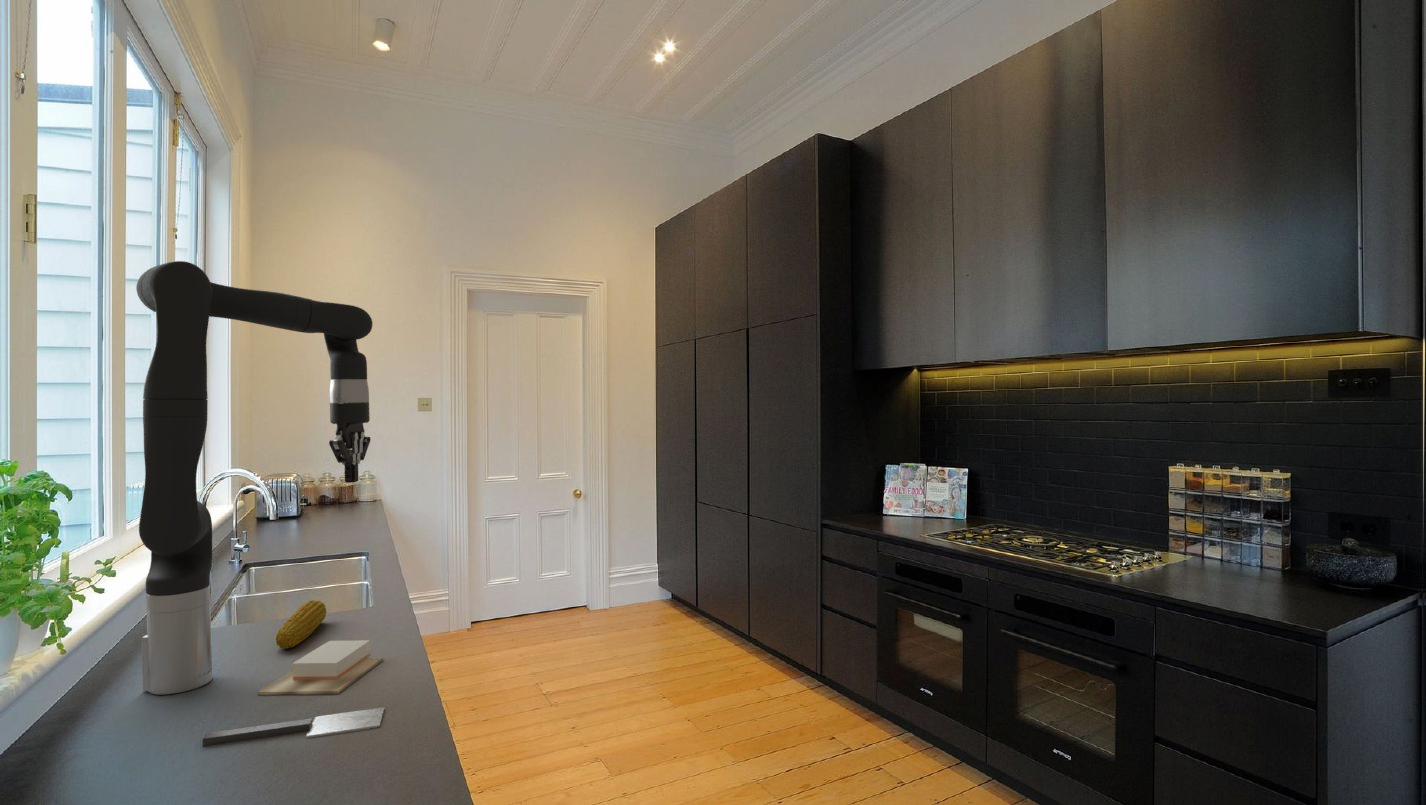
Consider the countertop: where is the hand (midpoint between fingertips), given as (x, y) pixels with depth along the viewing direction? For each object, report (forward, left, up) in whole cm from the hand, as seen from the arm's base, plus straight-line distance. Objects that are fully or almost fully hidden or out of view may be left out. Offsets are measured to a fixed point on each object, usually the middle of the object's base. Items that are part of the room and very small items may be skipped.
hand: (351, 482), depth 156 cm
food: (-12, 0, -33) cm, 35 cm away
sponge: (+6, -13, -31) cm, 34 cm away
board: (+6, -22, -33) cm, 40 cm away
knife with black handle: (+14, -44, -33) cm, 57 cm away
